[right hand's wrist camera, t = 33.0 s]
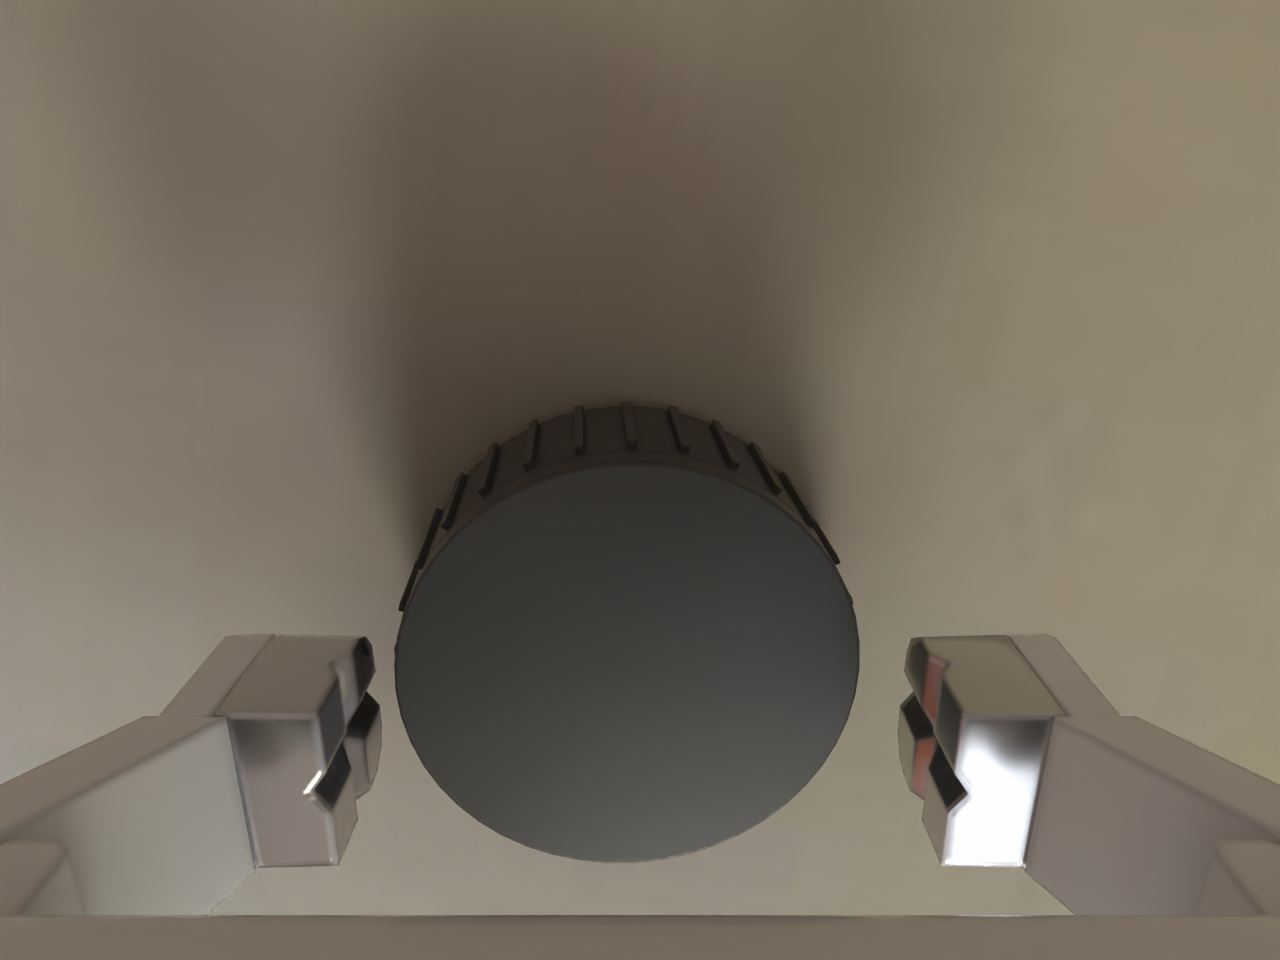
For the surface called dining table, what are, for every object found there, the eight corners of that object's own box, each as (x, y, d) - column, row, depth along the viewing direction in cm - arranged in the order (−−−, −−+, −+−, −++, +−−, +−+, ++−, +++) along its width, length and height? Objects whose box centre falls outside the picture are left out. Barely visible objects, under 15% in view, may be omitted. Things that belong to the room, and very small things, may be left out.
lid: (352, 669, 12) (309, 770, 10) (531, 320, 11) (522, 363, 9) (693, 809, 14) (712, 925, 12) (898, 513, 12) (960, 588, 10)
